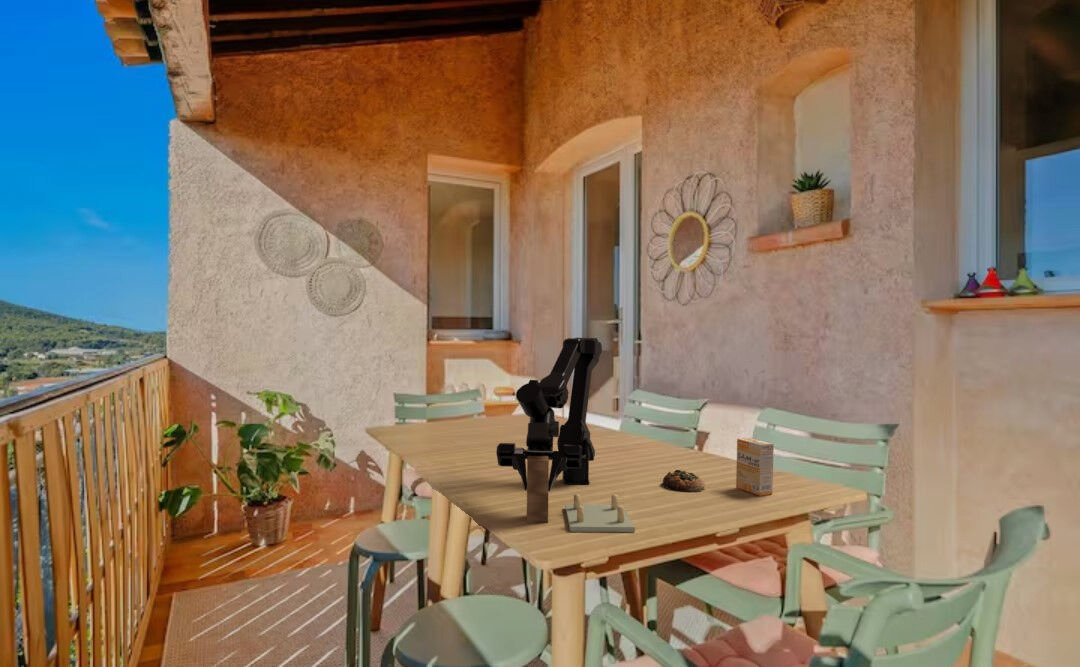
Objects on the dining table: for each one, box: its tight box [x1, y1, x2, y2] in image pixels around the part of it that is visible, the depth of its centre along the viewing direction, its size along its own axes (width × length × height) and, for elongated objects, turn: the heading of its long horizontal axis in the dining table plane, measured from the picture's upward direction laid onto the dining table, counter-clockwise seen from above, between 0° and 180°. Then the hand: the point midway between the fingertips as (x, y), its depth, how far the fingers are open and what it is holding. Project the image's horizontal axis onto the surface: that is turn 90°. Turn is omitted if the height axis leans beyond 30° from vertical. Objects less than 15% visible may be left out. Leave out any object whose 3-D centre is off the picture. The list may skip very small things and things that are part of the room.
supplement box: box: [735, 437, 775, 497], centre depth 144 cm, size 8×5×13 cm, turn 25°
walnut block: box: [526, 456, 550, 524], centre depth 120 cm, size 4×4×13 cm
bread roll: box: [662, 469, 706, 492], centre depth 148 cm, size 11×11×5 cm
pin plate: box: [564, 493, 636, 533], centre depth 120 cm, size 13×15×4 cm
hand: (537, 490), depth 119 cm, fingers closed on walnut block, 5 cm apart
